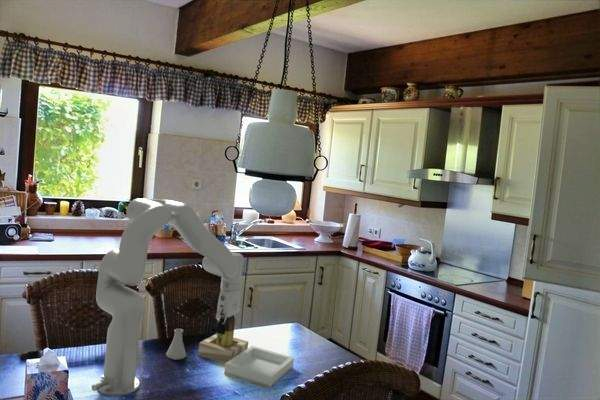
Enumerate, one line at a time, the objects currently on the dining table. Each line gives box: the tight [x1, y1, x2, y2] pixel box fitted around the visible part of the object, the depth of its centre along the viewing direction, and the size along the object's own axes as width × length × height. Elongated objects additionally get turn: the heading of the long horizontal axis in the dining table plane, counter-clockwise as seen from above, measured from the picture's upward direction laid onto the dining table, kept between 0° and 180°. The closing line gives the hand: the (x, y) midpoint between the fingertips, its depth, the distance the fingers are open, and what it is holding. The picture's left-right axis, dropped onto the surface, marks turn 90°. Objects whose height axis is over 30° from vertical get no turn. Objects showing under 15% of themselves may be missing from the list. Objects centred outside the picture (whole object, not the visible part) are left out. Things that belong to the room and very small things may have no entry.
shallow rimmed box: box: [197, 333, 249, 364], centre depth 192 cm, size 13×14×5 cm
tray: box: [224, 345, 295, 389], centre depth 181 cm, size 20×18×4 cm
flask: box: [165, 328, 188, 360], centre depth 185 cm, size 7×7×10 cm
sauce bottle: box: [216, 314, 236, 348], centre depth 191 cm, size 7×6×20 cm
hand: (225, 330), depth 191 cm, fingers closed on sauce bottle, 6 cm apart
